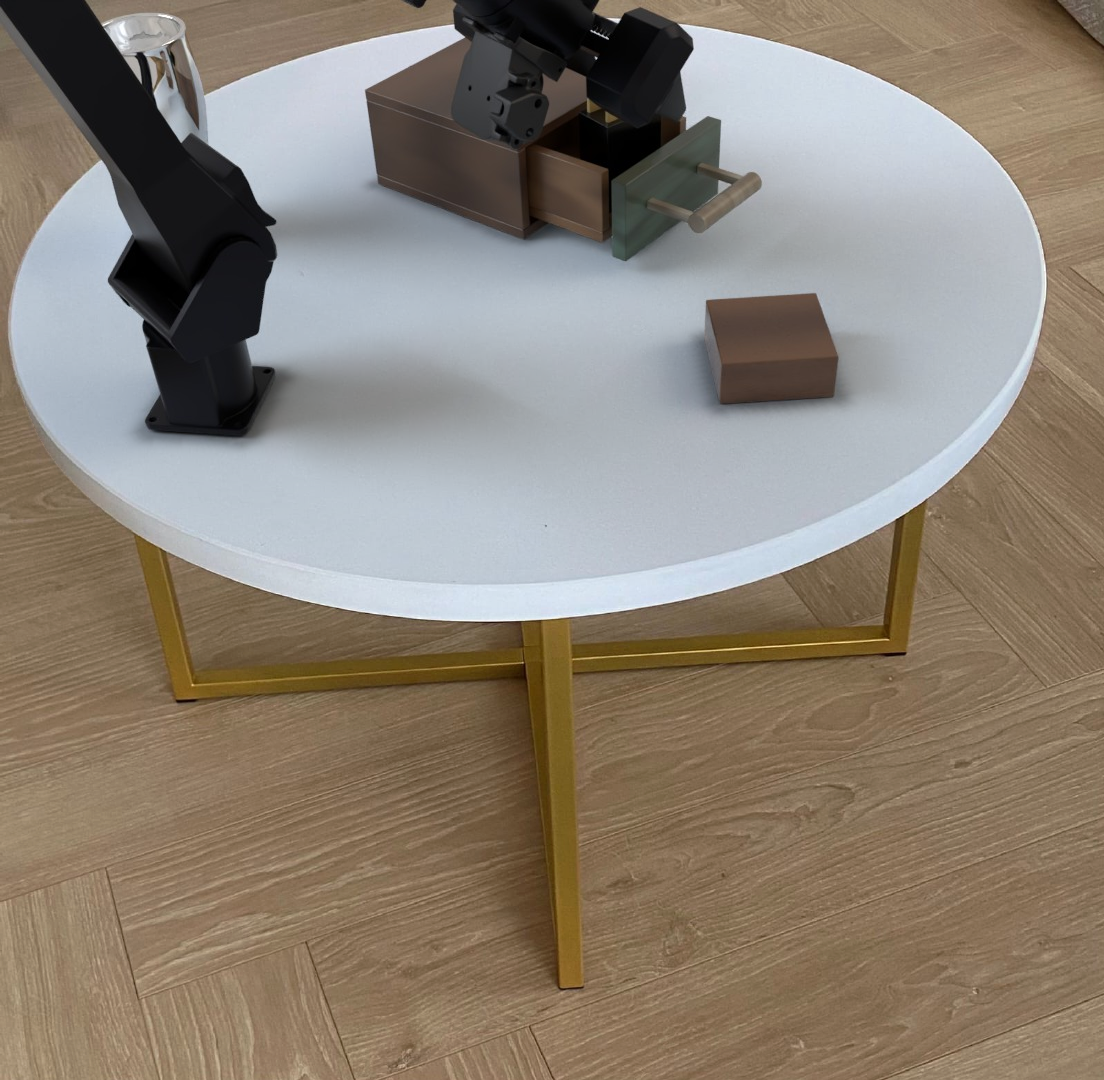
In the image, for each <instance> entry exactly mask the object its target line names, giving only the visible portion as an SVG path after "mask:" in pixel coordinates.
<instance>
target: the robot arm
mask: <svg viewBox="0 0 1104 1080" xmlns="http://www.w3.org/2000/svg"><path fill="white" fill-rule="evenodd" d="M401 1H402V2H404V3H406V4H407V5H410V6H412V7H414V8H416V9H421V8H422V7H423V6H424V5H425V4H426V2H427V0H401ZM451 1H452V2H453V3H455V5H454V7H453V10H452V15H453V16H452V18H453V27H454V30H455V31H457V32H458V33H459V34H460V35H462V36H463V38H465V37H466V38H467V39H468V40H469V41H471V42H472V43H471V46H470V49H469V50H468V51H467V53H466V54H465V57H464V59H463V63H462V67H461V71H460V74H459V78H458V82H457V86H456V89H455V93H454V97H453V101H452V105H451V115H452V118H453V120H454V121H455V123H457V124H458V125H460V126H462V127H463V128H465V129H467V130H469V131H470V132H472V133H474V134H475V135H477V136H479V137H480V138H482V139H486V140H493V141H500V142H503V143H504V144H506V145H508V146H510V147H512V148H513V149H519V148H520V147H521V146H522V144H525V143H527V142H528V141H534V140H536V139H537V138H538V137H539V136H540V134H541V131H542V128H543V125H544V121H545V118H546V115H547V111H548V108H549V100H548V97H547V96H546V95H544V94H542V90H543V83H544V81H543V75H542V74H544V75H546V76H547V77H548V78H550V79H552V80H554V81H556V82H557V81H558V80H559V78H560V76H561V75H562V73H563V71H564V70H565V68H568V69H570V70H572V71H574V72H576V73H579V74H581V75H583V76H585V77H586V97H587V98H588V99H589V100H591V101H592V102H593V103H594V104H596V105H597V106H599V107H600V108H602V109H603V110H605V111H606V112H608V113H609V114H611V115H613V116H615V117H617V118H618V119H620V120H622V121H624V122H626V123H628V124H630V125H632V126H634V127H636V128H640V127H642V126H644V125H646V124H648V123H649V122H650V120H651V118H652V117H653V115H654V114H655V113H656V114H659V115H661V116H663V117H666V118H668V119H670V120H672V121H675V122H679V121H680V119H681V117H682V116H684V114H685V113H686V110H687V104H686V97H685V91H684V85H683V79H682V73H681V71H682V69H683V68H684V66H685V65H686V63H687V61H688V59H689V58H690V57H691V54H692V53H693V52H694V49H695V48H694V46H695V45H694V38H693V37H692V36H691V34H689V33H688V32H687V31H686V30H685V29H684V28H683V27H682V26H681V25H680V24H679V23H678V22H676V21H673V20H671V19H669V18H667V17H665V16H662V15H660V14H657V13H655V12H653V11H651V10H648V9H646V8H645V7H642V6H639V7H637V8H634V9H630V10H629V11H625V12H624V13H623V14H622V16H621V18H620V19H619V21H618V22H616V21H614V20H612V19H610V18H607V17H605V16H603V15H601V14H598V13H596V12H595V10H596V8H597V6H598V4H599V2H600V0H451ZM101 23H102V22H101V21H100V20H99V18H98V16H97V15H96V14H95V12H94V11H93V10H92V7H91V6H90V5H89V3H88V2H87V0H0V25H1V26H2V29H4V31H5V32H6V33H7V35H8V36H9V37H10V39H11V40H12V42H13V43H14V44H15V45H16V47H17V48H18V49H19V51H20V52H21V54H22V55H23V56H24V57H25V60H26V61H28V63H29V64H30V66H31V67H32V69H33V70H34V71H35V72H36V73H37V75H38V76H39V78H40V79H41V80H42V82H43V83H44V84H45V86H46V87H47V89H48V90H49V91H50V93H51V94H52V95H53V97H54V98H55V100H56V101H57V102H58V103H59V105H60V107H62V109H63V110H64V111H65V113H66V114H67V116H68V117H69V118H70V120H71V121H72V123H73V124H74V125H75V127H76V128H77V129H78V130H79V132H80V133H81V134H82V136H83V137H84V139H85V140H86V141H87V142H88V144H89V145H90V147H91V148H92V149H93V150H94V152H95V153H96V155H97V156H98V157H99V159H100V160H101V161H102V163H103V165H105V167H106V169H107V171H108V173H109V176H110V178H111V182H112V186H113V190H114V193H115V197H116V201H117V204H118V207H119V210H120V211H121V214H122V215H123V217H124V219H125V223H127V226H128V228H129V230H130V231H131V236H130V237H129V240H128V241H127V243H126V244H125V246H124V248H123V250H122V252H121V254H120V255H119V258H118V259H117V261H116V262H115V264H114V266H113V267H112V270H111V272H110V273H109V275H108V277H107V283H108V285H109V286H110V288H111V289H112V290H113V291H114V293H115V294H116V295H117V296H118V297H119V299H121V301H122V302H123V303H124V304H125V305H126V306H127V307H129V308H131V309H132V310H133V311H134V312H135V313H137V315H139V316H140V318H142V319H143V321H142V325H141V328H142V333H143V336H144V340H145V344H146V345H145V347H146V351H147V354H148V358H149V361H150V364H151V368H152V371H153V375H154V377H155V382H156V385H157V388H158V391H159V395H158V397H157V399H156V400H155V402H154V404H153V405H152V407H151V409H150V410H149V412H148V414H147V415H146V416H145V419H144V424H145V426H146V427H145V428H147V429H148V430H149V431H150V430H151V431H162V432H163V431H164V432H178V433H194V434H208V435H223V436H224V435H226V436H244V435H246V434H248V432H249V431H250V430H251V427H252V425H253V423H254V421H255V419H256V418H257V415H258V413H259V411H260V409H261V407H262V405H263V403H264V402H265V399H266V397H267V396H268V393H269V391H270V390H271V387H272V385H273V383H274V381H275V379H276V378H277V375H276V374H277V373H276V370H275V368H274V367H271V366H262V365H261V366H260V365H259V366H258V365H253V363H252V360H251V355H250V352H249V347H248V343H247V342H248V341H247V340H249V339H250V338H253V337H255V336H258V334H259V333H260V328H261V321H262V314H263V307H264V299H265V292H266V285H267V282H268V280H269V277H270V276H271V274H272V272H273V267H274V262H275V261H276V259H277V258H278V250H277V245H276V242H275V239H274V238H273V235H272V233H271V231H270V230H269V229H268V228H267V227H272V226H276V224H277V219H276V218H275V217H274V216H272V215H271V214H270V213H268V212H267V211H265V210H264V209H263V208H262V207H261V206H260V204H259V203H258V201H257V199H256V197H255V195H254V192H253V190H252V189H253V188H252V187H251V184H250V182H249V180H248V178H247V177H246V175H245V173H244V171H243V170H242V168H241V167H240V166H238V165H237V164H235V163H234V162H233V161H232V160H230V159H229V158H227V156H224V155H223V154H222V153H221V152H219V151H218V150H216V149H215V148H214V147H213V146H211V145H210V144H209V143H208V144H206V143H205V142H204V141H202V140H201V139H200V138H198V137H197V136H195V135H194V134H193V133H190V134H189V135H188V136H187V137H186V138H185V139H184V140H183V141H182V143H181V142H180V140H179V139H178V137H177V136H176V135H175V133H174V132H173V130H172V129H171V127H170V126H169V124H168V123H167V121H166V120H165V118H164V117H163V115H162V114H161V112H160V111H159V109H158V108H157V106H156V105H155V103H154V102H153V100H152V99H151V97H150V96H149V94H148V93H147V91H146V90H145V88H144V87H143V85H142V84H141V82H140V81H139V79H138V78H137V76H136V75H135V73H134V72H133V70H132V69H131V68H130V66H129V65H128V63H127V62H126V60H125V59H124V57H123V56H122V54H121V53H120V51H119V50H118V48H117V47H116V45H115V44H114V42H113V41H112V39H111V38H110V36H109V35H108V33H107V32H106V30H105V29H104V27H103V26H102V24H101Z"/></svg>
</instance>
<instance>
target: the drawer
mask: <svg viewBox="0 0 1104 1080" xmlns="http://www.w3.org/2000/svg"><path fill="white" fill-rule="evenodd" d="M721 133H722V119H720V118H717V117H712V116H710V115H707V116H705V117H703V118H702V119H701V120H699V121H698V122H696V123H695V124H693V125H691V126H690V127H689V128H687V117H686V116H684V115H683V116H682V117H681V119H680V121H679V122H675V121H672V120H670V119H668V118H666V117H663V116H661V148H659V149H658V150H656V151H655V152H653V153H652V154H650V155H649V156H647V157H646V158H644V159H643V160H641V161H640V162H638V163H637V164H635V165H634V166H632V167H631V168H629V169H628V170H627V171H625V172H624V173H622V174H621V175H619V176H618V177H616V178H615V179H613V180H612V181H611V185H612V212H611V213H609V184H608V169H606V168H604V167H601V166H598V165H595V164H592V163H589V162H586V161H583V160H580V139H579V115H578V116H576V117H574V118H573V119H571V120H569V121H568V122H566V123H565V124H563V125H561V126H560V127H558V128H556V129H555V130H553V131H552V132H550V133H548V134H547V135H545V136H543V137H542V138H540V139H539V140H537V141H535V142H534V143H532V144H530V145H529V146H527V147H525V154H526V171H527V188H528V205H529V216H532V217H535V218H538V219H540V220H543V221H546V222H548V224H551V225H554V226H557V227H559V228H562V229H565V230H568V231H570V232H572V233H576V234H578V235H581V236H583V237H586V238H589V239H591V240H595V241H597V242H600V243H605V242H606V241H608V240H609V239H610V238H611V252H612V254H611V256H612V258H616V259H618V260H620V261H623V262H627V261H629V260H630V259H631V258H634V256H636V255H637V254H638V253H640V252H642V251H643V250H644V249H645V248H647V247H648V246H649V245H650V244H652V243H653V242H655V241H657V240H658V239H659V238H660V237H661V236H663V235H664V234H665V233H667V232H668V231H669V230H671V229H673V227H675V226H677V225H678V224H679V223H681V222H685V223H687V224H688V227H689V228H690V230H691V231H692V232H693V233H695V234H703V233H704V232H705V231H707V230H708V229H709V228H711V227H712V226H713V225H715V224H716V223H717V222H719V221H720V220H722V218H724V217H726V216H727V215H728V214H729V213H730V212H732V211H734V209H736V208H737V207H738V206H740V205H741V204H743V203H744V202H746V200H748V199H749V198H751V197H752V196H753V195H755V194H756V193H757V192H758V191H759V190H761V189H762V186H763V181H762V180H763V179H762V178H761V176H760V175H759V174H758V173H756V172H755V171H749V172H747V173H745V174H744V175H741V174H738V173H734V172H733V171H729V170H726V169H723V168H720V159H721V158H720V157H721V156H720V155H721ZM719 181H720V182H723V183H726V184H729V186H728V187H726V188H725V189H724V190H722V191H721V192H720V193H719Z"/></svg>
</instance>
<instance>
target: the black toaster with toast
mask: <svg viewBox="0 0 1104 1080" xmlns="http://www.w3.org/2000/svg"><path fill="white" fill-rule="evenodd" d="M579 139H580V160H583V161H586V162H589V163H592V164H595V165H598V166H601V167H604V168H606V169H608V184H609V213H611V212H612V185H611V181H612V180H613V179H615V178H616V177H618V176H619V175H621V174H622V173H624V172H625V171H627V170H628V169H629V168H631V167H632V166H634V165H635V164H637V163H638V162H640V161H641V160H643V159H644V158H646V157H647V156H649V155H650V154H652V153H653V152H655V151H656V150H658V149H659V148H661V115H659V114H656V113H655V114H654V115H653V117H652V118H651V120H650V122H649V123H648V124H646V125H644V126H642V127H640V128H636V127H634V126H632V125H630V124H628V123H626V122H624V121H622V120H620V119H618V118H617V117H615V116H613V115H611V114H609V113H608V112H606V111H605V110H603V109H602V108H600V107H599V106H597V105H596V104H594V103H593V102H592V101H591V100H589V99H588V98H587V109H585V110H582V111H579Z"/></svg>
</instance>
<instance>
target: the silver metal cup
mask: <svg viewBox="0 0 1104 1080" xmlns="http://www.w3.org/2000/svg"><path fill="white" fill-rule="evenodd" d="M100 23H101V24H102V26H103V27H104V29H105V30H106V32H107V33H108V35H109V36H110V38H111V39H112V41H113V42H114V44H115V45H116V47H117V48H118V50H119V51H120V53H121V54H122V56H123V57H124V59H125V60H126V62H127V63H128V65H129V66H130V68H131V69H132V70H133V72H134V73H135V75H136V76H137V78H138V79H139V81H140V82H141V84H142V85H143V87H144V88H145V90H146V91H147V93H148V94H149V96H150V97H151V99H152V100H153V102H154V103H155V105H156V106H157V108H158V109H159V111H160V112H161V114H162V115H163V117H164V118H165V120H166V121H167V123H168V124H169V126H170V127H171V129H172V130H173V132H174V133H175V135H176V136H177V137H178V139H179V140H180V142H181V143H182V141H183V140H184V139H185V138H186V137H187V136H188V135H189V134H190V133H193V134H194V135H195V136H197V137H198V138H200V139H201V140H202V141H204V142H205V143H206V144H208V145H209V128H208V126H209V125H208V115H207V104H206V97H205V93H204V88H203V83H202V79H201V76H200V71H199V67H198V64H197V61H196V58H195V54H194V50H193V47H192V45H191V42H190V38H189V36H188V32H187V29H186V27H187V26H186V24H185V22H184V21H183V20H182V19H181V18H180V17H178V16H175V15H172V14H168V13H162V12H137V13H132V14H131V13H130V14H126V15H121V16H117V17H114V18H111V19H109V20H106V21H104V22H100Z"/></svg>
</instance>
